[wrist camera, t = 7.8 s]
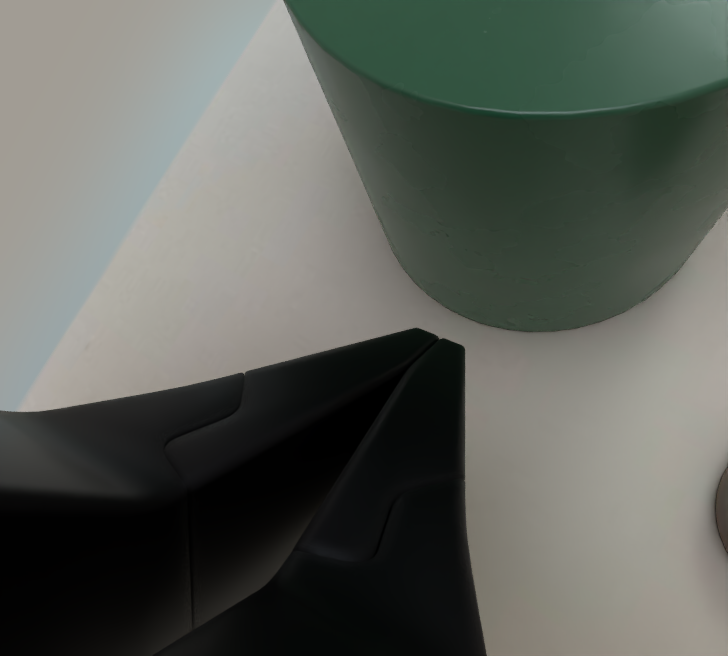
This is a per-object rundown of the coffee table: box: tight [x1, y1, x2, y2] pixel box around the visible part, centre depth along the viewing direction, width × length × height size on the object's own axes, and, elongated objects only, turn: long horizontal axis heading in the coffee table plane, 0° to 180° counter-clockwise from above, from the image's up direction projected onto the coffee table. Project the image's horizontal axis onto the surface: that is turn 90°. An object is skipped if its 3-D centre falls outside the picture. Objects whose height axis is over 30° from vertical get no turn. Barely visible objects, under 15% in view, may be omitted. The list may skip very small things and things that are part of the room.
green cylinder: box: [284, 0, 728, 332], centre depth 13 cm, size 10×10×10 cm
